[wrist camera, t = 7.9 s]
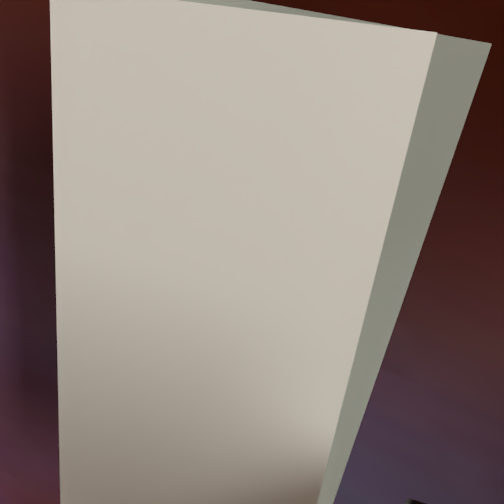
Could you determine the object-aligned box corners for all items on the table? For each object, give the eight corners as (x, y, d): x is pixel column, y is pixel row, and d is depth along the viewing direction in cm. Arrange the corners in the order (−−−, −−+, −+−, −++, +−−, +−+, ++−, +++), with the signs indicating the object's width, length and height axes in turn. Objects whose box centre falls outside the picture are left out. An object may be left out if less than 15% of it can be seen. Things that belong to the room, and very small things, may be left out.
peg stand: (330, 490, 20) (324, 618, 15) (118, 424, 21) (50, 523, 16) (479, 47, 13) (553, 22, 9) (160, -10, 15) (67, -61, 10)
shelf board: (283, 580, 15) (268, 692, 12) (113, 528, 16) (63, 622, 13) (410, 50, 9) (437, 32, 6) (132, 14, 10) (49, -16, 7)
